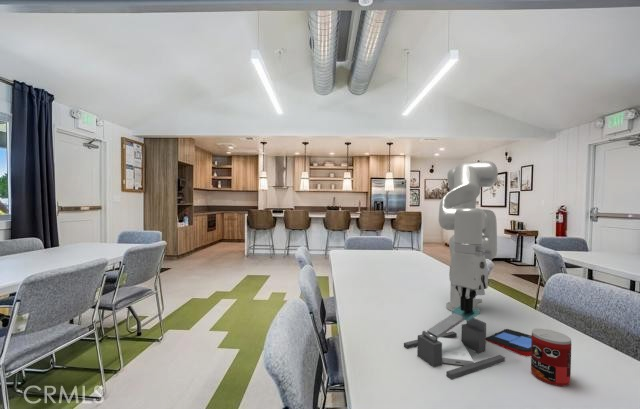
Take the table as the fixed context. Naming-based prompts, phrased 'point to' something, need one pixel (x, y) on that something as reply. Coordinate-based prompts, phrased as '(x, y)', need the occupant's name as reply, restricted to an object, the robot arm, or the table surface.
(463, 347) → the external hard drive
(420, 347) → the socket frame
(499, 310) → the table surface
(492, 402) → the table surface
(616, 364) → the table surface
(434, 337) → the rectangular panel
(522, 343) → the game console
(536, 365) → the canned food
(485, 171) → the robot arm
